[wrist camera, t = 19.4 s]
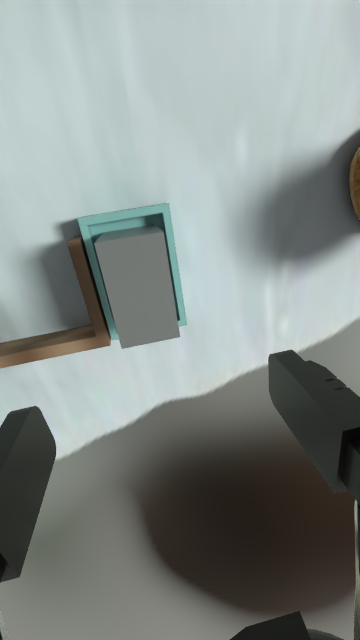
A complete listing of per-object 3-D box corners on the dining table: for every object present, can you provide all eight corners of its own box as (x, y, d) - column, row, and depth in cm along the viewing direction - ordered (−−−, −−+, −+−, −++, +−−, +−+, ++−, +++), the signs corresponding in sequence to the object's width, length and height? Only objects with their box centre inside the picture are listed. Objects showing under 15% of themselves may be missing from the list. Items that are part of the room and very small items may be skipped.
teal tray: (165, 203, 25) (168, 203, 22) (182, 315, 29) (187, 324, 27) (82, 216, 24) (77, 218, 22) (113, 329, 29) (111, 340, 26)
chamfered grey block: (155, 224, 25) (163, 231, 18) (168, 306, 28) (180, 336, 22) (103, 232, 24) (94, 243, 18) (123, 314, 28) (121, 348, 21)
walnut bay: (85, 235, 25) (79, 239, 22) (112, 331, 29) (110, 345, 26) (-86, 264, 23) (-115, 272, 21) (-33, 361, 27) (-51, 378, 25)
